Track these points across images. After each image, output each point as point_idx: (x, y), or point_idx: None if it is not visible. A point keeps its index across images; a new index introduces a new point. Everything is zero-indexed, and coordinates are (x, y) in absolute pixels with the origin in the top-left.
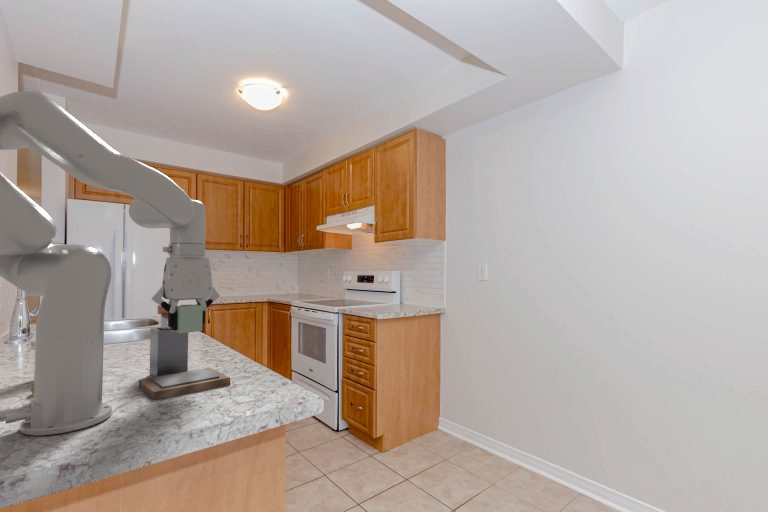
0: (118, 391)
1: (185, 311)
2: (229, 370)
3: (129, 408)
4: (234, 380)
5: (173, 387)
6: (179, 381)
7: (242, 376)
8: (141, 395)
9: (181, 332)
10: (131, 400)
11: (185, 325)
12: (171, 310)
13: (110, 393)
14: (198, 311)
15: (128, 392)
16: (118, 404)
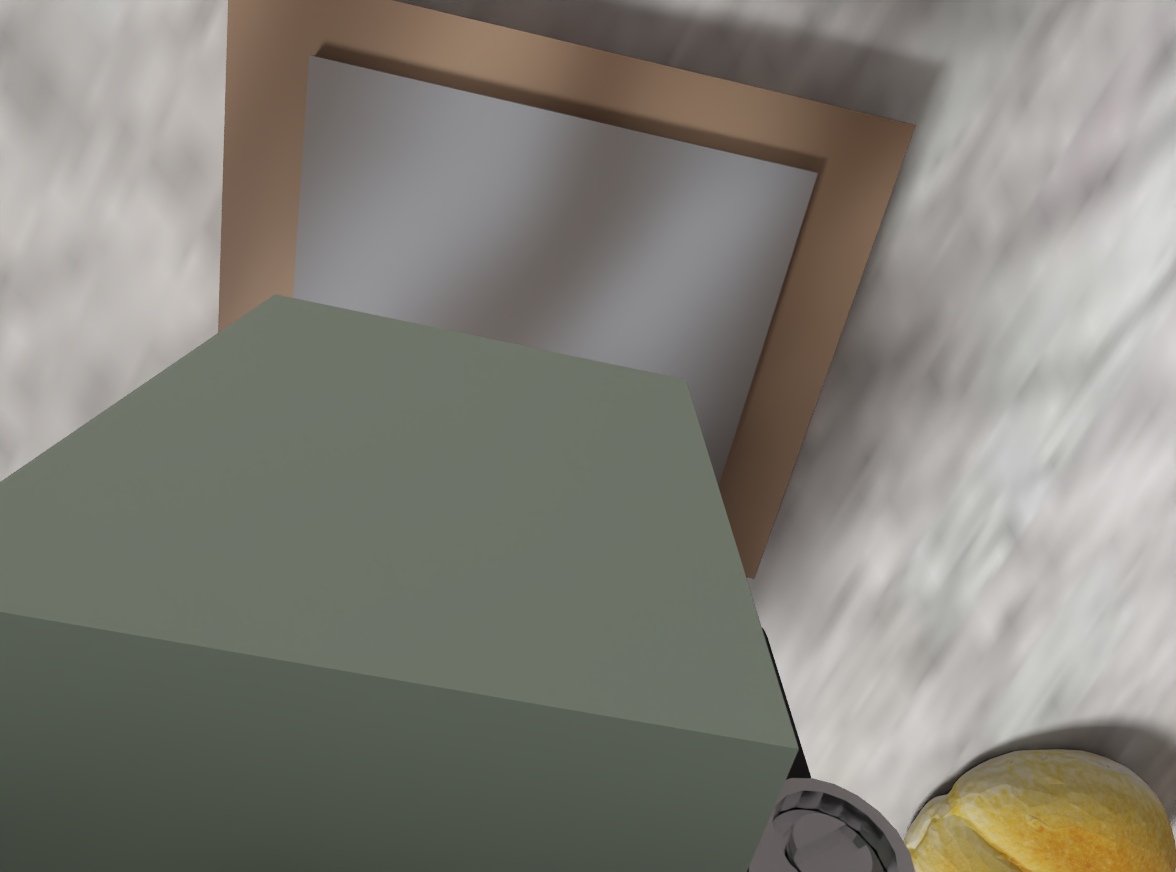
0: (874, 553)
1: (578, 594)
2: (61, 415)
3: (1103, 74)
4: (166, 64)
5: (745, 121)
6: (640, 214)
7: (49, 126)
8: (859, 330)
9: (648, 379)
10: (968, 269)
11: (581, 410)
12: (854, 863)
13: (926, 550)
14: (165, 489)
15: (857, 478)
16: (1067, 252)
